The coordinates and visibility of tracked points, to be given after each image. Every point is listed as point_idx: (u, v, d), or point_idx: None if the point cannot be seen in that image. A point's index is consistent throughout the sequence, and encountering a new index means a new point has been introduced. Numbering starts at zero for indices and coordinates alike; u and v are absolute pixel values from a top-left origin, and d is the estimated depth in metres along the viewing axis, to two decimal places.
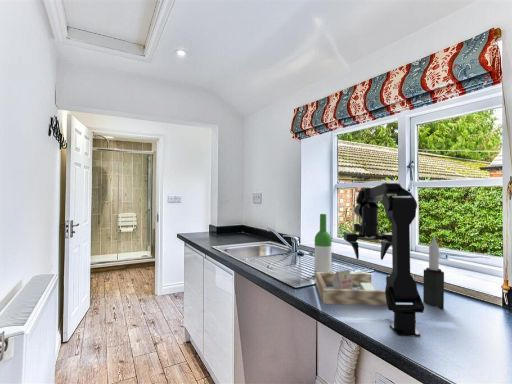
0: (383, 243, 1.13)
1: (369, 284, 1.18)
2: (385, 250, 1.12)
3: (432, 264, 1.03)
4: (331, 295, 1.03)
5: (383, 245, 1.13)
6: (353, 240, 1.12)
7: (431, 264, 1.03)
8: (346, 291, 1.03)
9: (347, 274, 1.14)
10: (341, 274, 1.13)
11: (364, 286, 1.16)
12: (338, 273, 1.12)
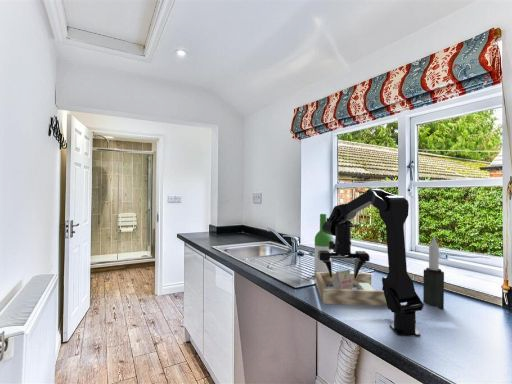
0: (356, 261, 1.13)
1: (367, 284, 1.18)
2: (358, 269, 1.12)
3: (432, 264, 1.03)
4: (331, 295, 1.03)
5: (356, 264, 1.13)
6: (326, 259, 1.11)
7: (431, 264, 1.03)
8: (346, 291, 1.03)
9: (347, 274, 1.14)
10: (341, 274, 1.13)
11: (363, 286, 1.16)
12: (338, 273, 1.12)
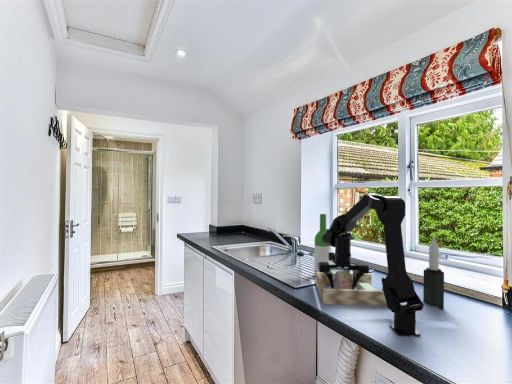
0: (354, 273, 1.13)
1: (368, 284, 1.18)
2: (356, 281, 1.12)
3: (432, 264, 1.03)
4: (331, 295, 1.03)
5: (354, 275, 1.13)
6: (326, 271, 1.11)
7: (431, 264, 1.03)
8: (346, 291, 1.03)
9: (347, 274, 1.14)
10: (341, 274, 1.13)
11: (364, 286, 1.16)
12: (338, 273, 1.12)
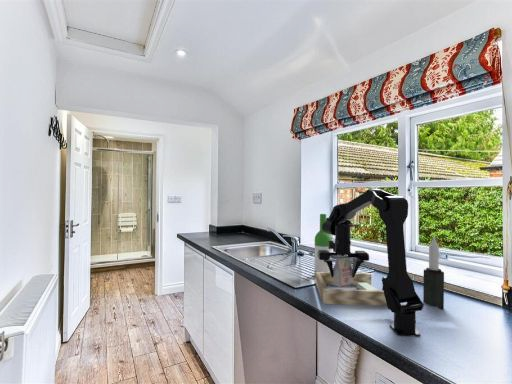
0: (354, 261, 1.13)
1: (367, 284, 1.18)
2: (356, 269, 1.12)
3: (432, 264, 1.03)
4: (331, 295, 1.03)
5: (354, 263, 1.13)
6: (325, 258, 1.11)
7: (431, 264, 1.03)
8: (346, 291, 1.03)
9: (347, 262, 1.14)
10: (341, 262, 1.13)
11: (364, 286, 1.15)
12: (338, 261, 1.12)
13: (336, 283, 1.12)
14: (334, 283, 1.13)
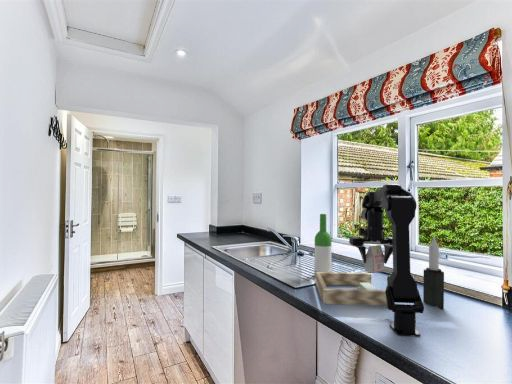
0: (387, 247, 1.15)
1: (368, 284, 1.18)
2: (389, 254, 1.13)
3: (432, 264, 1.03)
4: (331, 295, 1.03)
5: (387, 249, 1.14)
6: (359, 244, 1.13)
7: (431, 264, 1.03)
8: (346, 291, 1.03)
9: (379, 249, 1.16)
10: (374, 249, 1.14)
11: (365, 286, 1.15)
12: (371, 248, 1.14)
13: (369, 269, 1.14)
14: (367, 270, 1.15)
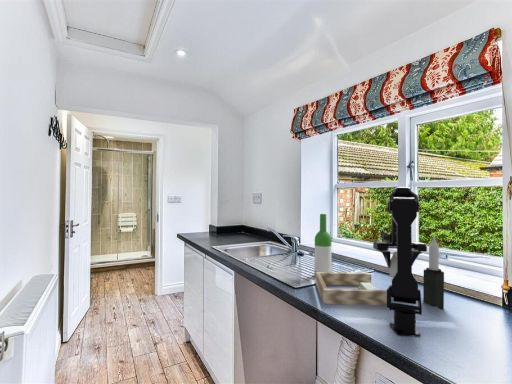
0: (411, 252, 1.15)
1: (369, 284, 1.18)
2: (413, 259, 1.14)
3: (432, 264, 1.03)
4: (331, 295, 1.03)
5: (411, 254, 1.15)
6: (384, 249, 1.14)
7: (431, 264, 1.03)
8: (346, 291, 1.03)
9: None
10: None
11: (365, 286, 1.16)
12: (396, 253, 1.15)
13: None
14: (391, 275, 1.15)
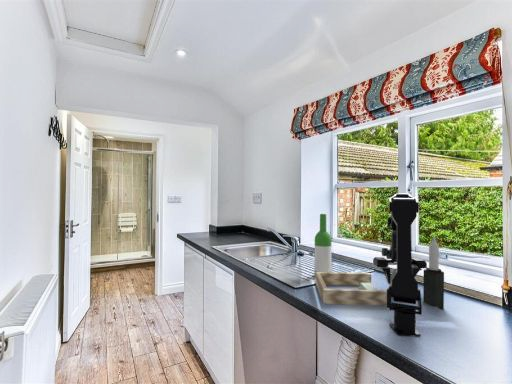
0: None
1: (369, 284, 1.18)
2: (413, 276, 1.14)
3: (432, 264, 1.03)
4: (331, 295, 1.03)
5: (411, 270, 1.15)
6: (384, 266, 1.14)
7: (431, 264, 1.03)
8: (346, 291, 1.03)
9: None
10: None
11: (366, 286, 1.15)
12: (395, 270, 1.15)
13: None
14: None
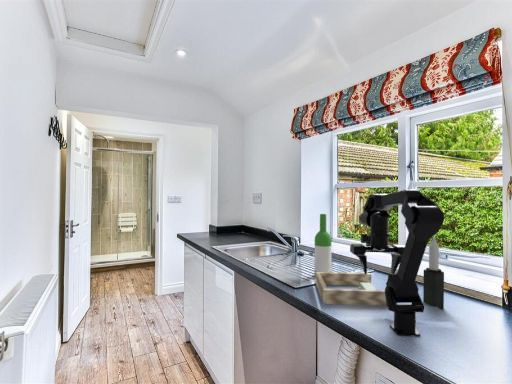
0: (394, 256, 1.01)
1: (369, 284, 1.18)
2: (396, 264, 1.00)
3: (432, 264, 1.03)
4: (331, 295, 1.03)
5: (394, 258, 1.01)
6: (361, 253, 1.00)
7: (431, 264, 1.03)
8: (346, 291, 1.03)
9: None
10: None
11: (365, 286, 1.16)
12: (396, 271, 1.15)
13: None
14: None
